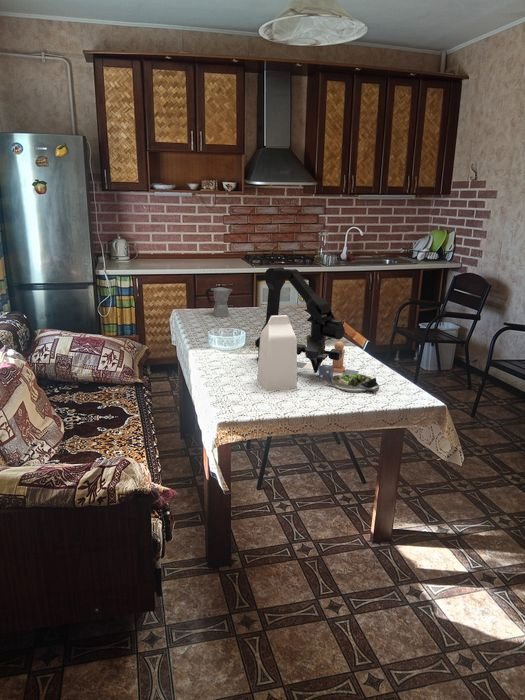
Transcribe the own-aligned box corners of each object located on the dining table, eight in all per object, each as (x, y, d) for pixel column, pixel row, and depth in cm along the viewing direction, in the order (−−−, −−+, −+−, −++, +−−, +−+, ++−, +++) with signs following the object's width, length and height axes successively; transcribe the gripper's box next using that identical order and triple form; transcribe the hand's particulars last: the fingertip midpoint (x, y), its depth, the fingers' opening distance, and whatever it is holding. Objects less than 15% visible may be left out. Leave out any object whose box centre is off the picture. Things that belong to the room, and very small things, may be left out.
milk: (265, 390, 194) (268, 320, 186) (256, 379, 204) (259, 312, 197) (296, 388, 197) (300, 319, 189) (286, 377, 207) (290, 311, 200)
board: (289, 366, 221) (289, 366, 220) (294, 361, 227) (294, 361, 227) (355, 376, 211) (355, 376, 211) (359, 371, 217) (359, 371, 217)
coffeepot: (230, 313, 310) (231, 282, 305) (233, 317, 301) (234, 285, 296) (204, 313, 307) (204, 282, 302) (206, 317, 298) (206, 285, 293)
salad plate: (331, 395, 192) (332, 383, 191) (321, 378, 209) (321, 367, 208) (383, 395, 194) (385, 383, 193) (369, 378, 211) (370, 367, 210)
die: (318, 378, 207) (319, 367, 206) (321, 375, 212) (322, 364, 210) (329, 380, 206) (330, 369, 205) (332, 376, 210) (333, 365, 209)
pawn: (335, 373, 213) (337, 344, 209) (326, 369, 218) (328, 340, 214) (347, 372, 216) (350, 342, 212) (339, 367, 221) (341, 338, 217)
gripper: (287, 336, 201) (286, 375, 206) (336, 342, 195) (333, 383, 199) (297, 329, 211) (295, 367, 216) (344, 335, 205) (341, 374, 209)
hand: (315, 372), depth 210 cm, fingers closed
